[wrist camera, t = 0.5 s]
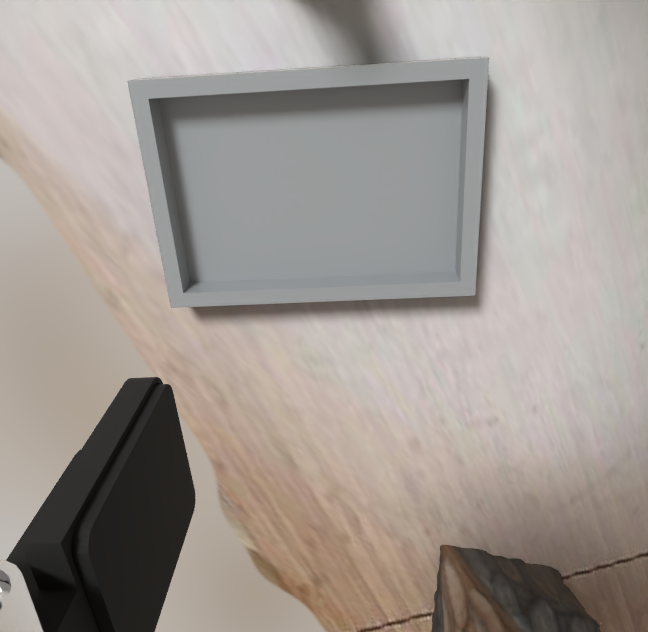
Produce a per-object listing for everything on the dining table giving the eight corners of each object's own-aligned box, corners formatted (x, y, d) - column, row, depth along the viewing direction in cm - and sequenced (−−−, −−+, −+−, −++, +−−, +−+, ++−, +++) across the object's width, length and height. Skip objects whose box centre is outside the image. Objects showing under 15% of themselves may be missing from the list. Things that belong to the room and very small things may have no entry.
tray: (141, 78, 34) (127, 80, 32) (479, 56, 33) (489, 57, 31) (180, 293, 40) (170, 307, 38) (467, 281, 39) (475, 295, 37)
